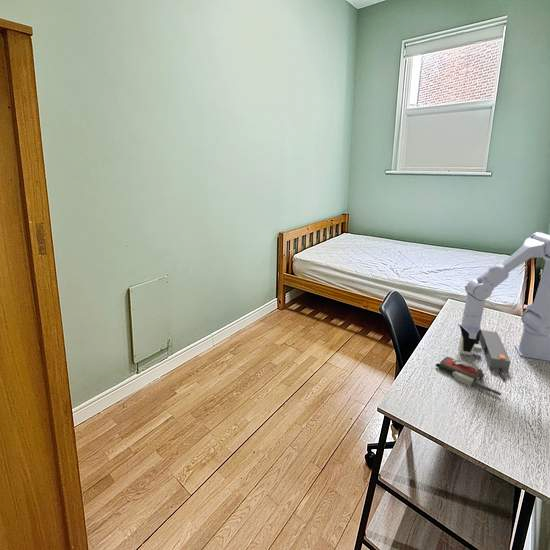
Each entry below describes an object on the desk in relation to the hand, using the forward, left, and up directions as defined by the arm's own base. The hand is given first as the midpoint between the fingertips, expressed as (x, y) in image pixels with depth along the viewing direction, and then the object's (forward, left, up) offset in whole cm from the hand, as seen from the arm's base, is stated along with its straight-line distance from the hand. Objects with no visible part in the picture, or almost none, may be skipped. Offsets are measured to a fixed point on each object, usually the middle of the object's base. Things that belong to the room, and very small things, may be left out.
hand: (465, 347), depth 129 cm
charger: (-1, 0, -2) cm, 2 cm away
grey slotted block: (-7, +1, -2) cm, 7 cm away
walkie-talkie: (+1, +18, -2) cm, 18 cm away
